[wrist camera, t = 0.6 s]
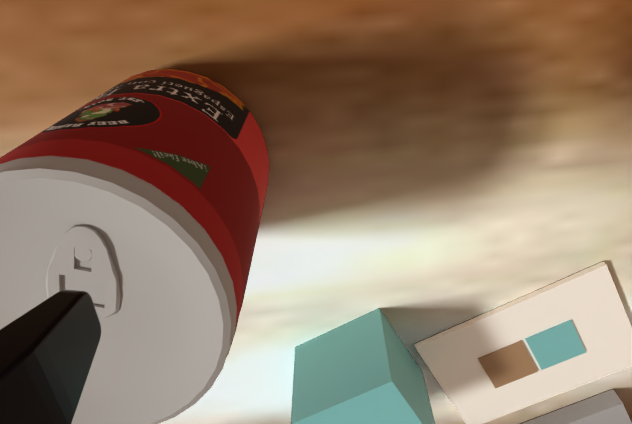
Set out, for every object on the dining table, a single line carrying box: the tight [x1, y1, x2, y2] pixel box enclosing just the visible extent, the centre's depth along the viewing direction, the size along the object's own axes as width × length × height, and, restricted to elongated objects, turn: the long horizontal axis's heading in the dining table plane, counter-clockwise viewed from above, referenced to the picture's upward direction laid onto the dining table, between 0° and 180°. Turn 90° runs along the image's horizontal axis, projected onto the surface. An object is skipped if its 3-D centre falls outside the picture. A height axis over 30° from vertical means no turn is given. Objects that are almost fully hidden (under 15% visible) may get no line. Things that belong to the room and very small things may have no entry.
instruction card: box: [414, 261, 632, 424], centre depth 26 cm, size 10×7×1 cm
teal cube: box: [291, 308, 435, 424], centre depth 25 cm, size 5×5×5 cm
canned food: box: [0, 69, 269, 424], centre depth 17 cm, size 8×8×11 cm
